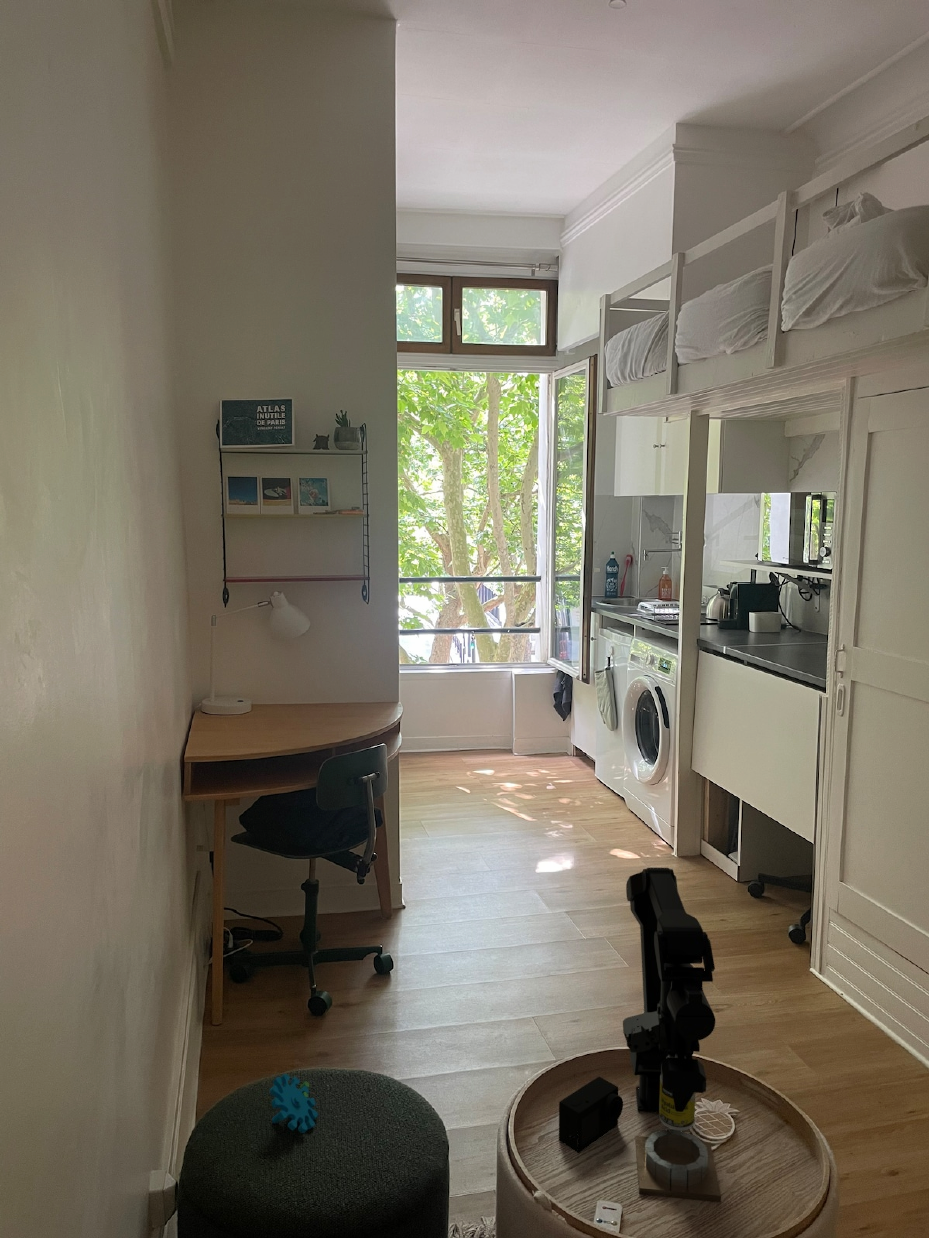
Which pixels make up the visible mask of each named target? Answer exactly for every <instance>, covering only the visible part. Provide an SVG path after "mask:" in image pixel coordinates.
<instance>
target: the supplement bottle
mask: <svg viewBox="0 0 929 1238" xmlns="http://www.w3.org/2000/svg"><path fill="white" fill-rule="evenodd" d="M668 1057H669V1056H668ZM666 1058H667V1057H666ZM673 1058H676V1054H675V1057H673ZM695 1114H696V1093H695V1092H694V1094H693V1096H692V1097H691V1099H690V1100H689V1102H688V1104H687V1106H686V1107H685V1109H684V1111H683V1112H677V1111H676V1110H675V1105H674V1099H673V1094H672V1091H671V1090H666V1089H664V1088H663V1087H662V1079H661V1076H660V1101H659V1113H658V1115H659V1121H660V1122H661V1123H662V1125H664V1126H665V1127H667V1128H668V1129H671V1130H679V1131H681V1132H682V1131H687V1130H690V1129H692V1127H693V1125H694V1124H695Z"/></svg>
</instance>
